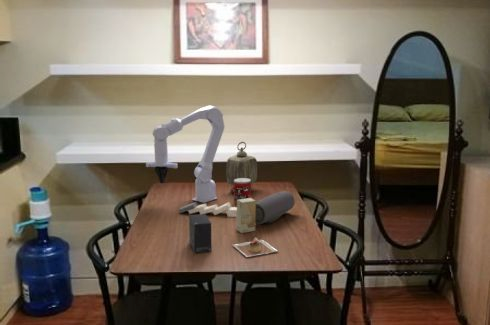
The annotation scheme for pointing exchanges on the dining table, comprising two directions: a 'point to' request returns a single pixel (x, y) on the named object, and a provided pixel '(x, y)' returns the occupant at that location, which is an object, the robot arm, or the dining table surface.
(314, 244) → the dining table surface
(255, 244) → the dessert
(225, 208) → the domino
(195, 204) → the domino
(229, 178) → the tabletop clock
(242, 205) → the skincare box
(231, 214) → the domino
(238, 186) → the canned food
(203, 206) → the domino
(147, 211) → the dining table surface
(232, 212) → the domino
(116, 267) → the dining table surface
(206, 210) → the domino
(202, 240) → the small box
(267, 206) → the bluetooth speaker
